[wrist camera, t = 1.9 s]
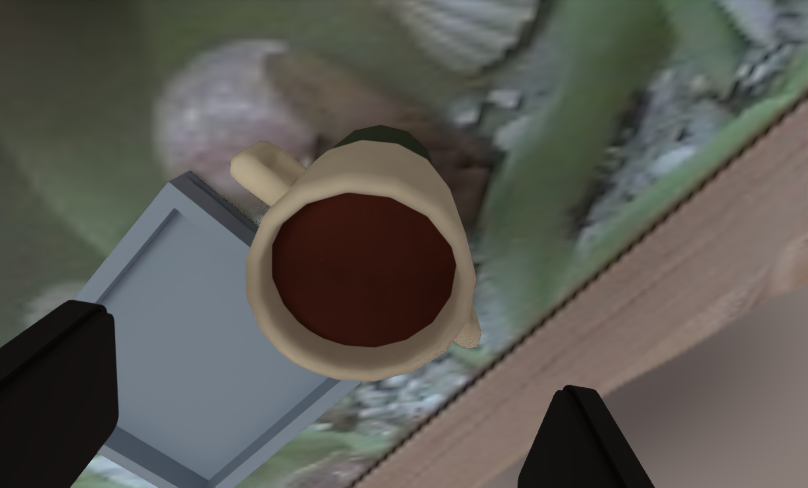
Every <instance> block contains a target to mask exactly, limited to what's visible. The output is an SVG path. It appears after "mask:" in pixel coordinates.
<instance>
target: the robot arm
mask: <svg viewBox="0 0 808 488" xmlns="http://www.w3.org/2000/svg"><path fill="white" fill-rule="evenodd" d="M118 418H119V404H118V383H117V362H116V341H115V321H114V317H113V315H112V314H110V313H107V309H106V307H105V306H103V305H101V304H96V303H90V302H84V301H78V300H68V301H66V302H65V303H63V304H62V305H60V306H59V307H57V308H56V309H55V310H53V311H52V312H50V313H49V314H48V315H46V316H45V317H43V318H42V319H40V320H39V321H38V322H36V323H35V324H33V325H32V326H31V327H29V328H28V329H26V330H25V331H24V332H22V333H21V334H19V335H18V336H16V337H15V338H14V339H12V340H11V341H9V342H8V343H7V344H5V345H4V346H2V347H1V348H0V488H70V487H71V486H72V484H73V483H74V482H75V481H76V479H77V478H78V477H79V475H80V474H81V473H82V472H83V470H84V469H85V468H86V466H87V465H88V464H89V463H90V461H91V460H92V459H93V458H94V456H95V455H96V454H97V452H98V451H99V450H100V449H101V447H102V446H103V445H104V443H105V442H106V441H107V440H108V438H109V437H110V436H111V434H112V433H113V431H114V429H115V427H116V425H117V422H118ZM518 488H655V487H654V485H653V484H652V482H651V480H650V479H649V477H648V475H647V474H646V472H645V470H644V469H643V467H642V466H641V464H640V462H639V460H638V459H637V457H636V455H635V454H634V452H633V450H632V449H631V447H630V445H629V444H628V442H627V440H626V439H625V437H624V436H623V434H622V432H621V430H620V429H619V427H618V425H617V424H616V422H615V421H614V419H613V417H612V415H611V414H610V412H609V410H608V409H607V407H606V405H605V404H604V402H603V400H602V399H601V397H600V395H599V394H598V393H597V391H596V390H594V389H591V388H585V387H579V386H573V385H566V386H565V387H564V388H563V390H558V391H557V392H556V393H555V394H554V396H553V399H552V401H551V403H550V405H549V408H548V410H547V412H546V415H545V417H544V419H543V422H542V424H541V426H540V428H539V431H538V433H537V435H536V438H535V440H534V442H533V444H532V447H531V449H530V451H529V454H528V456H527V458H526V461H525V463H524V465H523V468H522V470H521V472H520V474H519V478H518Z"/></svg>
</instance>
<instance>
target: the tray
mask: <svg viewBox="0 0 808 488" xmlns="http://www.w3.org/2000/svg"><path fill="white" fill-rule="evenodd" d="M257 231H258V227H257V226H256V225H254V224H253V223H252V222H251V221H250V220H248V219H247V218H246V217H245V216H244V215H242V214H241V213H240V212H239V211H237V210H236V209H235V208H234V207H233V206H231V205H230V204H229V203H228V202H227V201H225V200H224V199H223V198H222V197H221V196H219V195H218V194H217V193H216V192H214V191H213V190H212V189H211V188H210V187H208V186H207V185H206V184H205V183H204V182H202V181H201V180H200V179H199V178H197V177H196V176H195V175H194V174H193V173H191V172H190V171H188V172H186V173H184V174H182V175H181V176H179V177H177V178H175V179H173V180H171V181H169V182H168V183H167V184H166V186H165V187H164V188H163V189H162V190H161V192H160V193H159V194H158V195H157V197H156V198H155V199H154V200H153V202H152V203H151V204H150V205H149V207H148V208H147V209H146V210H145V212H144V213H143V214H142V215H141V216H140V218H139V219H138V220H137V221H136V223H135V224H134V225H133V226H132V228H131V229H130V230H129V231H128V233H127V234H126V235H125V236H124V238H123V239H122V240H121V241H120V243H119V244H118V245H117V246H116V247H115V249H114V250H113V251H112V252H111V254H110V255H109V256H108V257H107V259H106V260H105V261H104V262H103V264H102V265H101V266H100V267H99V269H98V270H97V271H96V272H95V273H94V275H93V276H92V277H91V278H90V280H89V281H88V282H87V283H86V285H85V286H84V287H83V288H82V290H81V291H80V292H79V293H78V295H77V296H76V297H75V298H74V299H73V300H78V301H84V302H90V303H96V304H101V305H103V306H105V307H106V309H107V313H110V314H112V315H113V317H114V321H115V341H116V362H117V383H118V404H119V418H118V422H117V425H116V427H115V429H114V431H113V433H112V434H111V436H110V437H109V438H108V440H107V441H106V442H105V443H104V445H103V446H102V447H101V449H100V450H99V451H98V452H97V453H99V454H101V455H102V456H104V457H106V458H108V459H109V460H111V461H113V462H115V463H116V464H118V465H120V466H122V467H123V468H125V469H127V470H129V471H130V472H132V473H134V474H136V475H137V476H139V477H141V478H143V479H144V480H146V481H148V482H150V483H151V484H153V485H155V486H157V487H158V488H234V487H235V486H236V485H237V484H239V483H240V482H241V481H242V480H244V479H245V478H246V477H247V476H248V475H250V474H251V473H252V472H253V471H254V470H256V469H257V468H258V467H259V466H260V465H262V464H263V463H264V462H265V461H266V460H268V459H269V458H270V457H271V456H273V455H274V454H275V453H276V452H277V451H279V450H280V449H281V448H282V447H283V446H285V445H286V444H287V443H288V442H289V441H291V440H292V439H293V438H294V437H296V436H297V435H298V434H299V433H300V432H302V431H303V430H304V429H305V428H306V427H308V426H309V425H310V424H311V423H312V422H314V421H315V420H316V419H317V418H318V417H320V416H321V415H322V414H323V413H325V412H326V411H327V410H328V409H329V408H331V407H332V406H333V405H334V404H335V403H337V402H338V401H339V400H340V399H341V398H343V397H344V396H345V395H346V394H348V393H349V392H350V391H351V390H352V389H354V388H355V387H356V386H357V385H358V384H360V383H361V382H362V381H355V380H336V379H333V378H330V377H327V376H323V375H320V374H317V373H314V372H310V371H309V370H307V369H305V368H303V367H301V366H299V365H297V364H295V363H293V362H292V361H290V360H289V359H288V358H287V357H285V356H284V355H283V354H281V353H280V352H279V351H278V350H277V349H276V348H275V347H274V346H273V344H272V343H271V342H270V341H269V340H268V339H267V338H266V336H265V335H264V334H263V333H262V332H261V331H260V328H259V326H258V324H257V321H256V319H255V317H254V314H253V312H252V310H251V307H250V305H249V303H248V300H247V298H246V256H247V254H248V252H249V249H250V247H251V245H252V242H253V240H254V238H255V235H256V233H257Z"/></svg>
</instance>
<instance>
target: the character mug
mask: <svg viewBox="0 0 808 488" xmlns="http://www.w3.org/2000/svg"><path fill="white" fill-rule="evenodd" d="M230 175H231V176H232V177H233V178H234V179H235V180H236V181H237V182H238V183H239V184H241V185H242V186H243V187H244V188H246V189H247V190H249V191H250V192H251V193H253V194H254V195H255V196H257V197H258V198H259V199H261V200H262V201H264V202H265V203H266V204H268V205H269V206H270V207H271V208H270V209H269V210H268V211H267V212H266V214H265V216H264V217H263V219H262V221H261V224H260V226H259V228H258V231H257V233H256V235H255V238H254V240H253V242H252V245H251V247H250V249H249V252H248V254H247V256H246V298H247V300H248V303H249V305H250V307H251V310H252V312H253V314H254V317H255V319H256V321H257V324H258V326H259V328H260V331H261V332H262V333H263V334H264V335H265V336H266V338H267V339H268V340H269V341H270V342H271V343H272V344H273V346H274V347H275V348H276V349H277V350H278V351H279V352H280V353H281V354H283V355H284V356H285V357H287V358H288V359H289V360H290V361H292V362H293V363H295V364H297V365H299V366H301V367H303V368H305V369H307V370H309V371H310V372H314V373H317V374H320V375H323V376H327V377H330V378H333V379H336V380H355V381H378V380H382V379H386V378H390V377H394V376H399V375H403V374H407V373H411V372H413V371H415V370H417V369H418V368H420V367H422V366H423V365H425V364H427V363H428V362H430V361H431V360H433V359H435V358H436V357H438V356H440V355H441V354H443V353H445V352H446V351H447V350H448V348H449V347H450V345H451V344H452V343H453V341H455V342H456V343H458V344H459V345H461V346H463V347H465V348H472V347H477V345H478V342H479V339H480V336H481V329H480V326H479V322H478V319H477V315H476V312H475V308H474V305H473V303H472V301H473V296H474V291H475V286H476V275H475V270H474V266H473V262H472V258H471V254H470V250H469V246H468V242H467V238H466V234H465V231H464V228H463V225H462V223H461V220H460V217H459V214H458V211H457V208H456V206H455V203H454V200H453V197H452V194H451V191H450V189H449V187H448V186H447V184H446V183H445V182H444V181H443V179H442V178H441V177H440V175H439V174H438V173H437V171H436V170H435V169H434V167H433V165H432V162H431V160H430V158H429V155H428V153H427V150H426V148H425V147H423V146H422V145H421V144H420V143H419V142H418V141H416V140H415V139H414V138H413V137H412V136H411V135H410V134H408V133H407V132H406V131H402V130H398V129H394V128H390V127H386V126H382V125H379V126H374V127H369V128H365V129H360V130H355V131H354V132H352V133H351V134H350V135H349V136H347V137H346V138H345V139H343V140H342V141H341V142H340V143H338V144H337V145H336V146H335V147H334V149H330V150H328V151H326V152H325V153H324V154H323V155H322V156H321V157H319V158H318V159H317V160H316V161H315V162H313V163H312V164H311V165H310V166H309V167H307V168H305V167H304V166H303V165H301V164H300V163H299V162H298V161H296V160H295V159H294V158H292V157H291V156H290V155H289V154H287V153H286V152H285V151H283V150H282V149H281V148H279V147H278V146H276V145H274V144H272V143H270V142H268V141H260V142H258V143H256V144H255V145H253V146H251V147H249V148H248V149H246V150H244V151H242V152H241V153H239V154H237V155H236V156H234V157H232V161H231V168H230Z"/></svg>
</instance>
